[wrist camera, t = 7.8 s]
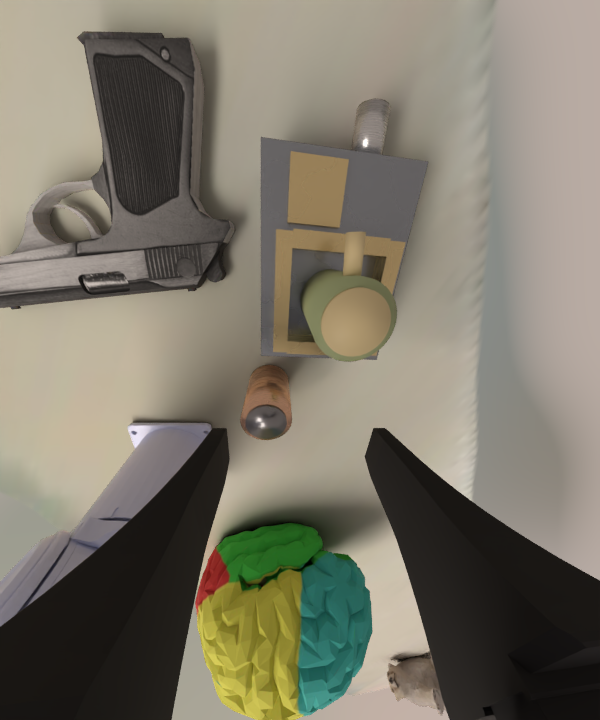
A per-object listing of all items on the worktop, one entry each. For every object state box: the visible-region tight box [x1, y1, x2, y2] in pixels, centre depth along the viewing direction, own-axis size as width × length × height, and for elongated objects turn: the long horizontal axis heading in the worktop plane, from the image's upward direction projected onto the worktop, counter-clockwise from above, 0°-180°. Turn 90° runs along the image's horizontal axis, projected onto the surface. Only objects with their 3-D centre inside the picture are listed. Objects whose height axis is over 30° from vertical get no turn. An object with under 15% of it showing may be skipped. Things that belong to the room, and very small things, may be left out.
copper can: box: [240, 365, 292, 440], centre depth 18 cm, size 4×4×6 cm
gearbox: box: [261, 99, 428, 360], centre depth 14 cm, size 14×9×5 cm, turn 175°
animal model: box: [387, 652, 446, 715], centre depth 73 cm, size 14×28×17 cm
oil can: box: [301, 232, 397, 361], centre depth 11 cm, size 5×4×6 cm
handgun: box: [0, 32, 235, 309], centre depth 13 cm, size 18×2×12 cm
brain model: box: [195, 523, 372, 720], centre depth 28 cm, size 24×19×15 cm
